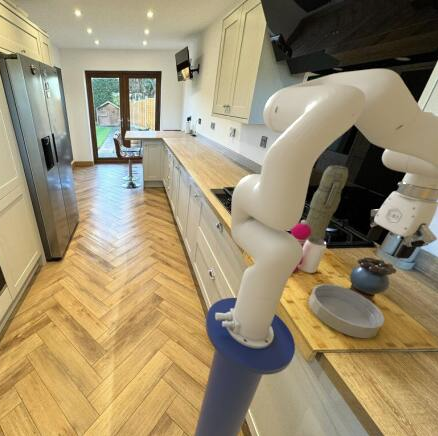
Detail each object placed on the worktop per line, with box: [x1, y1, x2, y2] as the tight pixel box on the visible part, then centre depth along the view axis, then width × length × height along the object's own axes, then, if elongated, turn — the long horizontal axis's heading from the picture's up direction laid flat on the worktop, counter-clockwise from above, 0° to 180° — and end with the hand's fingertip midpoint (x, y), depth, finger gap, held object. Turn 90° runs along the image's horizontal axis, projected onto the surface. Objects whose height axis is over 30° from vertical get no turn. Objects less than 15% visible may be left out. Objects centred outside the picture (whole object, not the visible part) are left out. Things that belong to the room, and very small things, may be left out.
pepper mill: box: [290, 219, 311, 274], centre depth 84 cm, size 7×7×20 cm
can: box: [298, 237, 327, 274], centre depth 86 cm, size 6×6×12 cm
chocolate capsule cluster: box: [357, 257, 397, 276], centre depth 71 cm, size 9×7×2 cm
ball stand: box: [348, 265, 390, 302], centre depth 74 cm, size 9×9×12 cm
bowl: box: [307, 283, 385, 339], centre depth 68 cm, size 16×16×4 cm
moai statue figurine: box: [302, 164, 349, 248], centre depth 96 cm, size 9×12×35 cm
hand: (385, 247), depth 68 cm, fingers open, 9 cm apart
